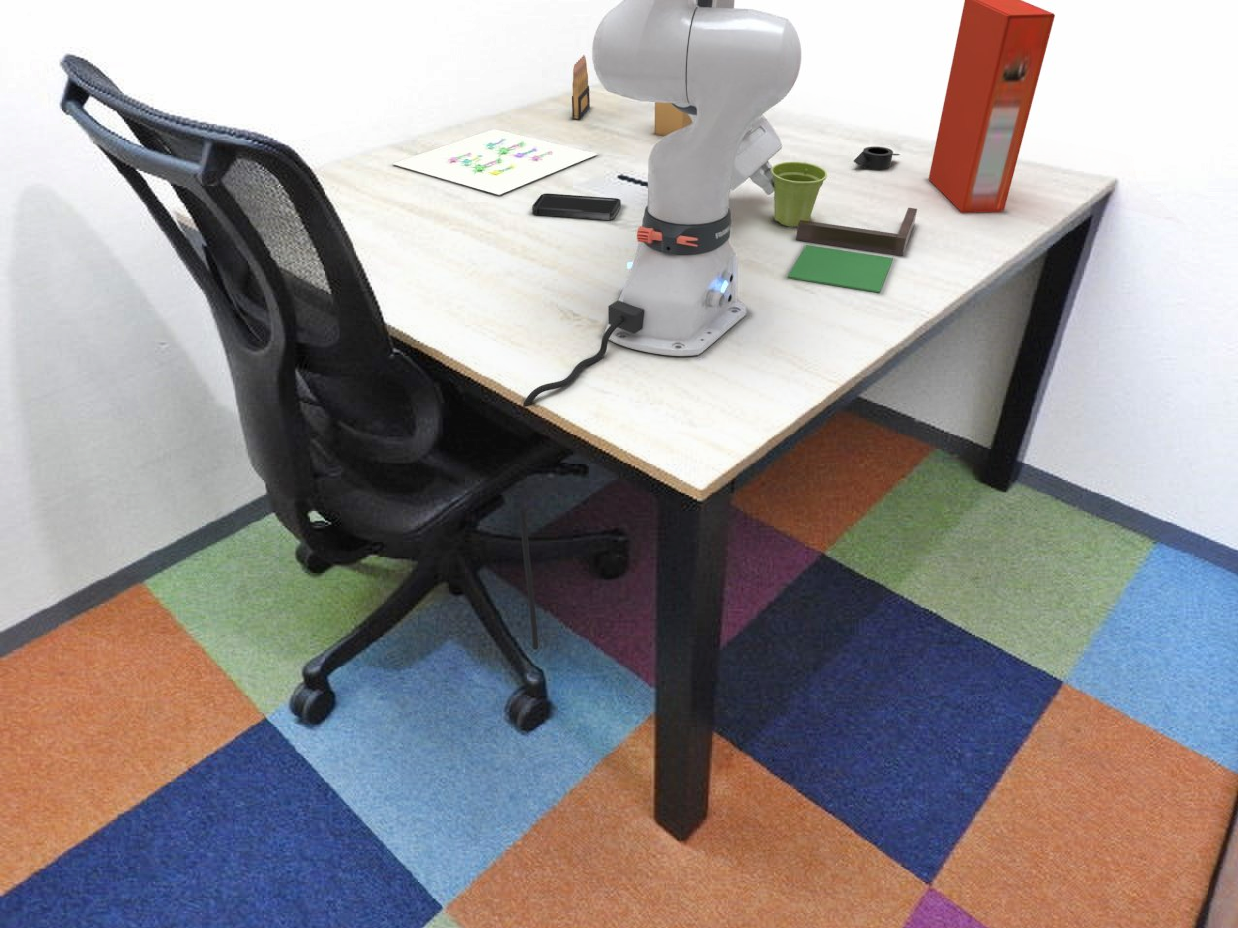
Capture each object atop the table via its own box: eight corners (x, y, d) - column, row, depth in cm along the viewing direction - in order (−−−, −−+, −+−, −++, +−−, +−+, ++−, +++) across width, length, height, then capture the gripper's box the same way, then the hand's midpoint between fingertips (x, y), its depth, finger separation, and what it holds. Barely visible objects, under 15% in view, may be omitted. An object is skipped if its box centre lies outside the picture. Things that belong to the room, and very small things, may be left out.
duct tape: (848, 158, 179) (850, 144, 177) (897, 160, 178) (900, 145, 177) (852, 171, 173) (855, 156, 171) (904, 172, 172) (906, 157, 171)
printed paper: (499, 196, 162) (498, 189, 161) (391, 165, 177) (390, 158, 176) (598, 155, 181) (598, 148, 180) (494, 130, 196) (493, 123, 195)
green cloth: (879, 293, 130) (879, 291, 129) (787, 278, 134) (787, 276, 134) (892, 259, 139) (892, 258, 139) (806, 246, 143) (806, 244, 143)
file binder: (959, 213, 155) (1007, 14, 136) (926, 180, 169) (965, -5, 150) (1003, 212, 155) (1057, 14, 136) (967, 179, 169) (1011, -5, 150)
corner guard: (902, 256, 140) (906, 238, 138) (795, 240, 146) (798, 223, 144) (913, 225, 151) (917, 208, 149) (813, 211, 156) (816, 195, 154)
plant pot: (817, 234, 148) (826, 184, 143) (762, 228, 149) (769, 178, 144) (819, 212, 155) (827, 164, 150) (766, 207, 157) (773, 159, 151)
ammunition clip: (580, 120, 202) (578, 65, 195) (572, 119, 202) (570, 64, 195) (589, 107, 210) (588, 54, 203) (582, 107, 211) (580, 54, 203)
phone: (542, 193, 160) (621, 198, 158) (542, 199, 161) (621, 204, 158) (530, 208, 154) (612, 214, 152) (530, 214, 155) (612, 220, 152)
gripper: (716, 129, 139) (768, 199, 141) (759, 98, 153) (806, 162, 156) (689, 153, 143) (740, 221, 145) (734, 121, 157) (779, 183, 160)
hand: (774, 190), depth 151 cm, fingers closed, pressing on plant pot
